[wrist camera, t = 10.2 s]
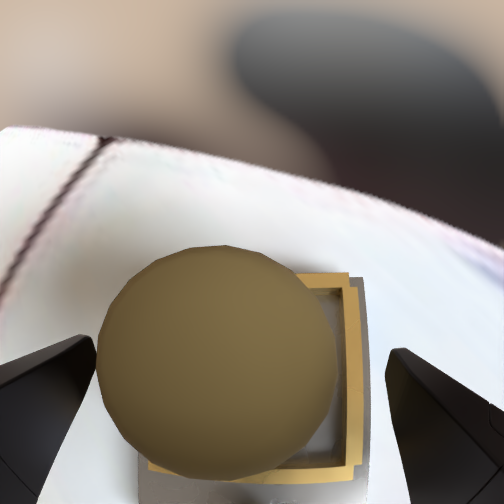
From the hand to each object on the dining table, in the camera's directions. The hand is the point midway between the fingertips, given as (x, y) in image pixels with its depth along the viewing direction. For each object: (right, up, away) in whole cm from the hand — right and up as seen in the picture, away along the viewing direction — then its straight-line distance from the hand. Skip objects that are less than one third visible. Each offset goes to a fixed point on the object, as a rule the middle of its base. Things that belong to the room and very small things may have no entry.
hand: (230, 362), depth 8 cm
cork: (+1, -4, +7) cm, 8 cm away
